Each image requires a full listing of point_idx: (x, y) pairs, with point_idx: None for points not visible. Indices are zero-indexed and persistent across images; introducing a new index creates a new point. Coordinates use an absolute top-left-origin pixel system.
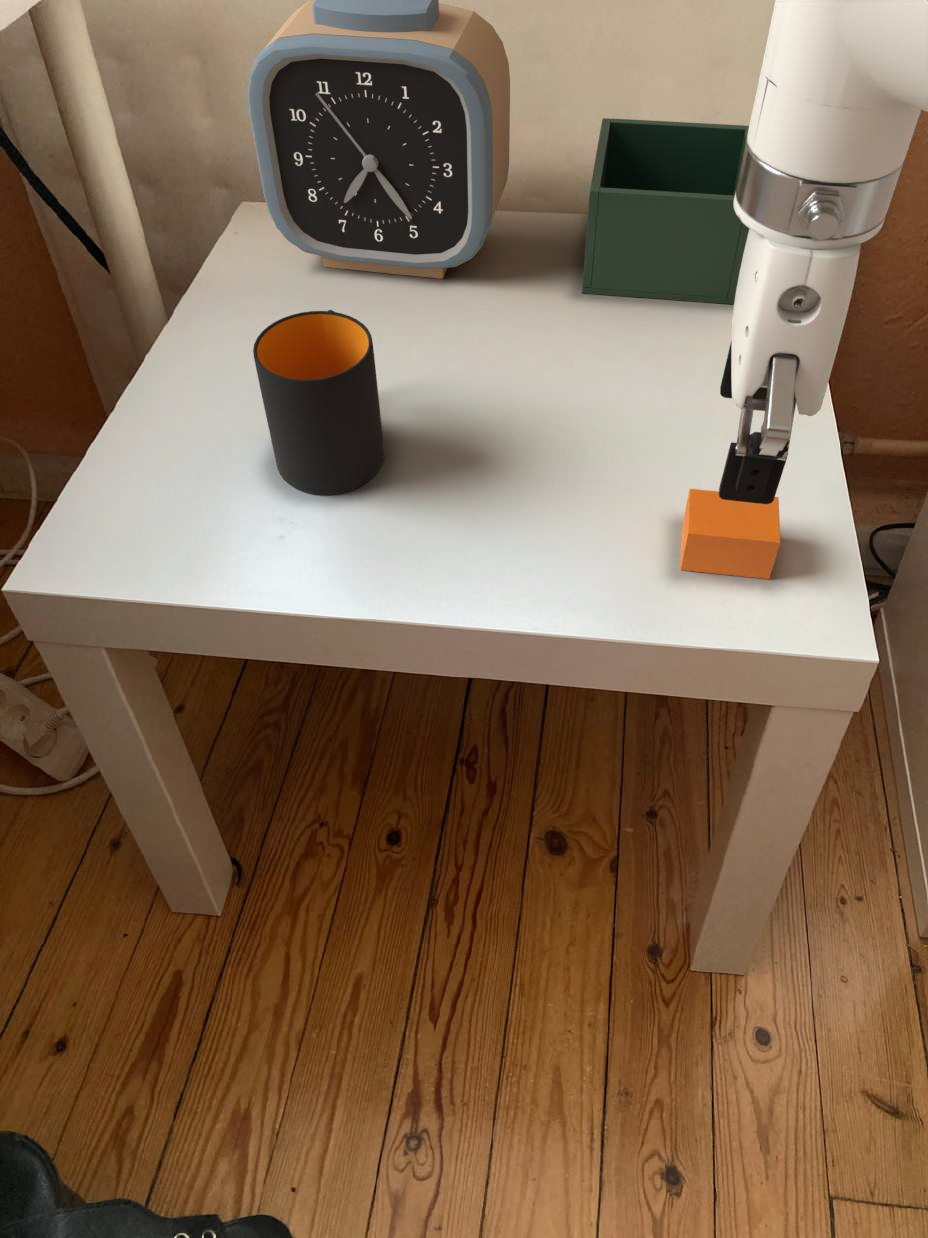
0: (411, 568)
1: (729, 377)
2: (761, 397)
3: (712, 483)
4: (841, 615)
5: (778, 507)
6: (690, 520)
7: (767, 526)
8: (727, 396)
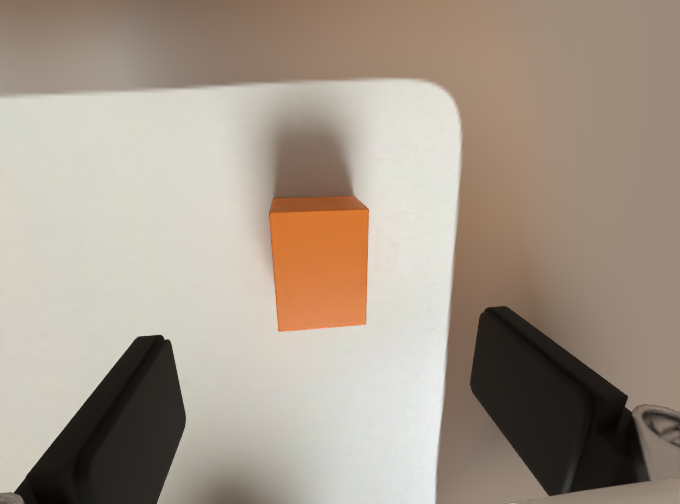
0: (381, 494)
1: (166, 469)
2: (168, 355)
3: (190, 270)
4: (402, 104)
5: (294, 212)
6: (342, 324)
7: (337, 227)
8: (183, 414)
